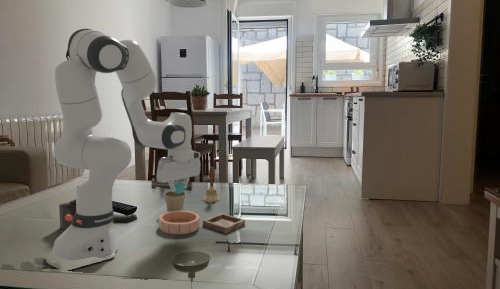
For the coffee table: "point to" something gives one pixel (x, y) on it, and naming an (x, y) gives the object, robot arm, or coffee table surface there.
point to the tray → (223, 222)
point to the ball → (179, 187)
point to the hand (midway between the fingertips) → (178, 190)
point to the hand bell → (211, 189)
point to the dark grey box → (64, 210)
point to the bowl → (179, 222)
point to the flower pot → (174, 201)
